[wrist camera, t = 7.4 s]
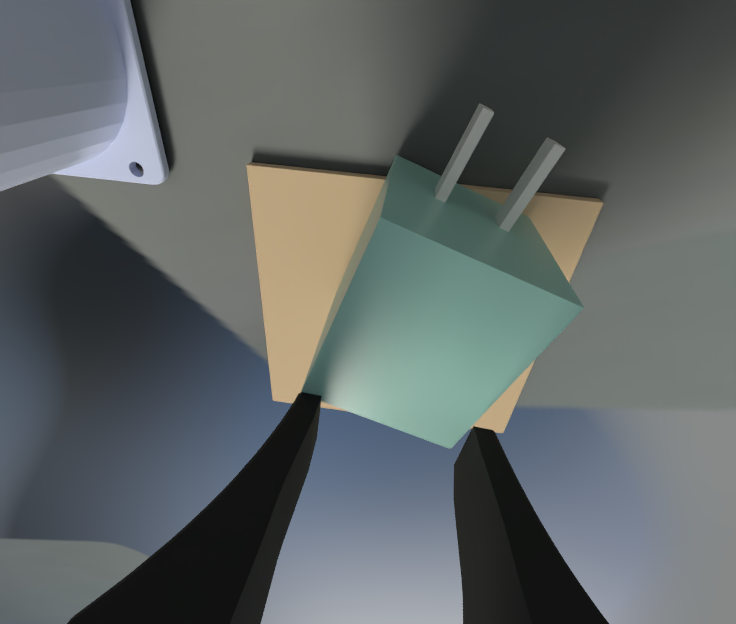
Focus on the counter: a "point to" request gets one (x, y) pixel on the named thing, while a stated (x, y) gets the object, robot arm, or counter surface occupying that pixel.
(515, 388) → the cork mat
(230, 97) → the counter surface
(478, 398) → the charger
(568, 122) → the counter surface
